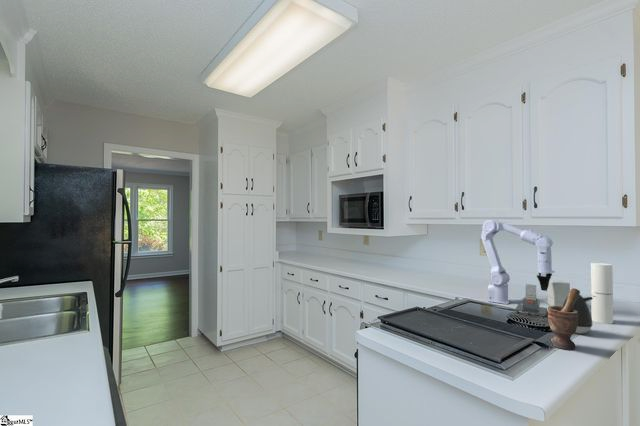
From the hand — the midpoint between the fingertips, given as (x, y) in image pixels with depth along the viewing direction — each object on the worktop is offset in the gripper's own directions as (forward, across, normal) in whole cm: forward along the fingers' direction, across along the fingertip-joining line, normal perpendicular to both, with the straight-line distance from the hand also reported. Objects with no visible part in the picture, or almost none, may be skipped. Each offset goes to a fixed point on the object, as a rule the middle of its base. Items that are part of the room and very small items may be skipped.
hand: (544, 289), depth 161 cm
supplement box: (+10, +12, -5) cm, 17 cm away
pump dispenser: (+10, -29, -12) cm, 33 cm away
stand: (+10, -8, +5) cm, 14 cm away
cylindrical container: (+10, -6, -21) cm, 24 cm away
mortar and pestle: (+10, -49, -9) cm, 50 cm away
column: (+6, -8, +5) cm, 11 cm away
